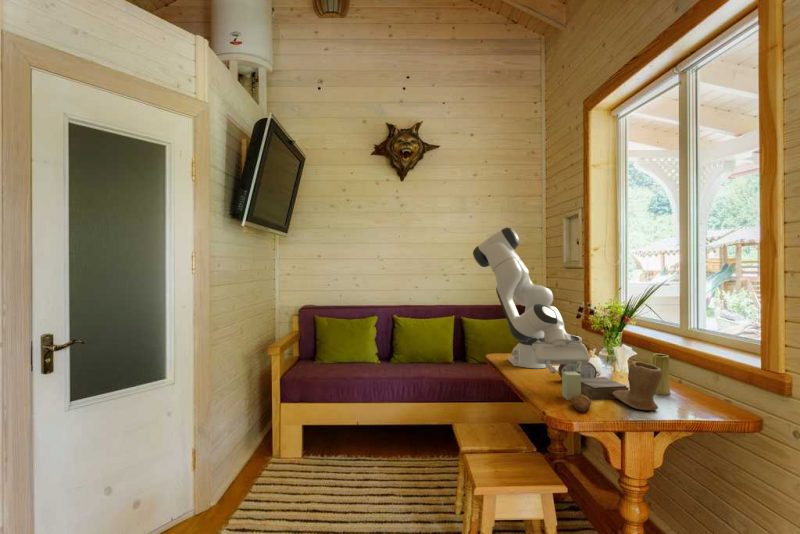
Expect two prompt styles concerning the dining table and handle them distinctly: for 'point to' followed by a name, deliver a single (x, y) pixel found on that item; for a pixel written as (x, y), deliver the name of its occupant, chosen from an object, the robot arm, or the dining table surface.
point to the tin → (586, 370)
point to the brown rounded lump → (581, 403)
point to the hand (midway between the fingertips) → (565, 372)
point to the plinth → (600, 387)
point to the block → (571, 384)
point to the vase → (663, 364)
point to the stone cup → (641, 386)
